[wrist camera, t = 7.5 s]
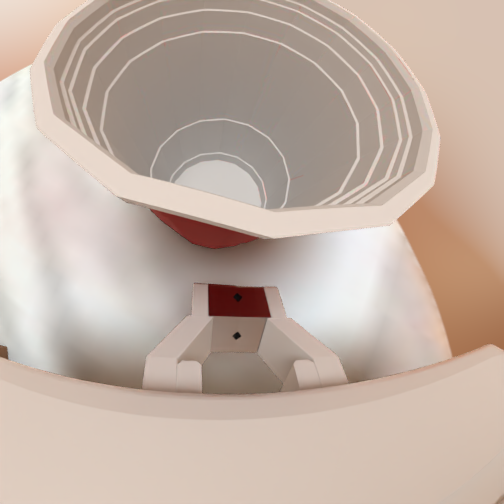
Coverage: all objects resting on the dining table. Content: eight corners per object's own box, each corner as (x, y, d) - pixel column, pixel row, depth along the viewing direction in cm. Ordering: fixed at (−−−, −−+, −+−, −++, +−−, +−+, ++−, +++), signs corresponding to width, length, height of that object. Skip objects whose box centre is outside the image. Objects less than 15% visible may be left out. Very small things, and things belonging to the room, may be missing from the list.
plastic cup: (332, 254, 17) (501, 172, 5) (161, 321, 14) (42, 355, 2) (265, 114, 18) (326, -29, 6) (114, 154, 15) (58, -7, 4)
